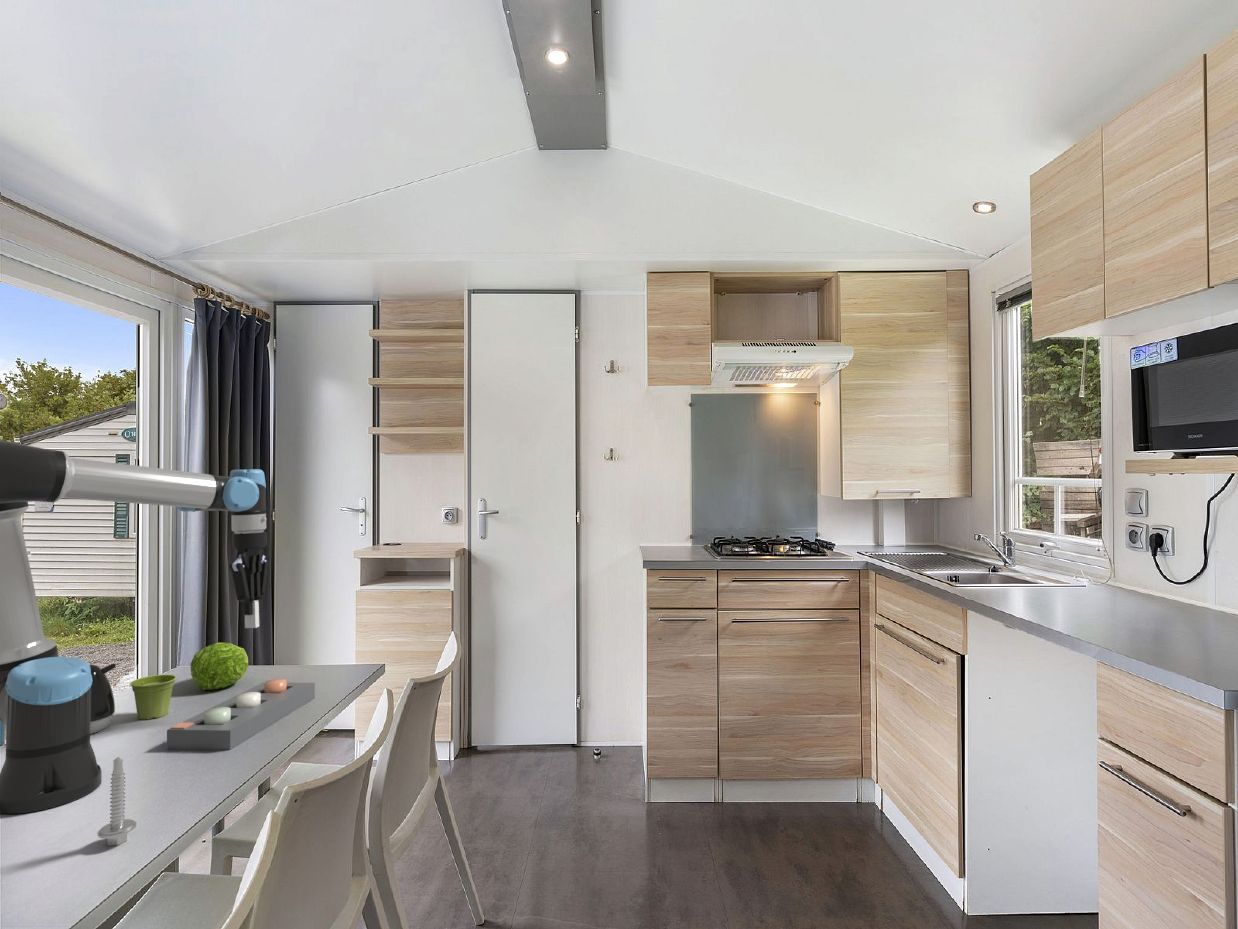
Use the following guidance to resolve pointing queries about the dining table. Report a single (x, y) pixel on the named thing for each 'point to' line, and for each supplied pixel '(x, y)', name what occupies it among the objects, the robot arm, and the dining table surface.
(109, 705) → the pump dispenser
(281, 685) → the peach rounded knob
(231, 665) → the lettuce
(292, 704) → the button console
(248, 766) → the dining table surface
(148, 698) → the plant pot
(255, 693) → the cream button
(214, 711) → the sage button
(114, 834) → the screw
